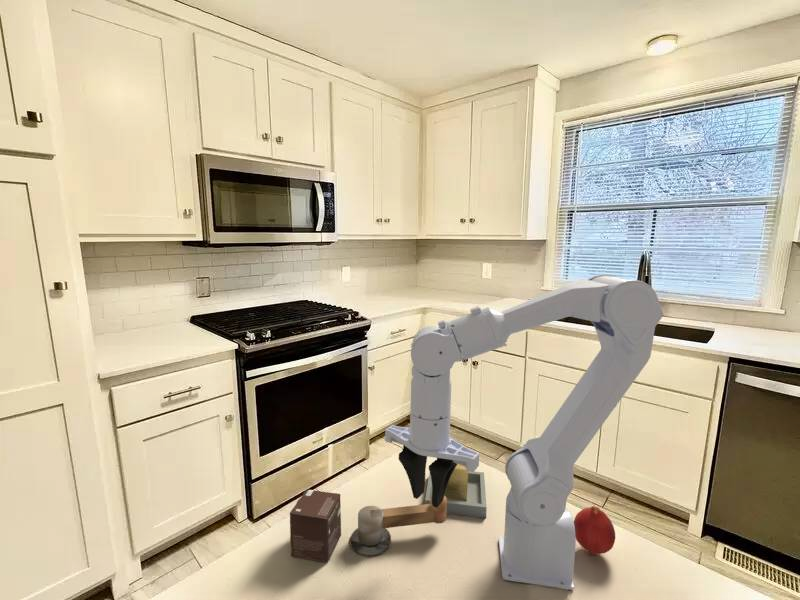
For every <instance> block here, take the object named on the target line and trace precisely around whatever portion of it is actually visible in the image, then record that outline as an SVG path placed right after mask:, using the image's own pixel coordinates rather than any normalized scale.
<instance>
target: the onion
mask: <svg viewBox="0 0 800 600" xmlns="http://www.w3.org/2000/svg"><path fill="white" fill-rule="evenodd" d="M573 521H574V526H575V538H576V541H577V543H578V545H580V546H581V547H582V549H584V550H585V551H586V552H587V553H589V554H590V555H592V556H593V555H594V556H595V555H601V554H606V553H607V552H610V550H612V549H613V548H614V545H615V541H616V530H615V527H614V524H613V522H612V520H611V519H610V517H609V516H608V515H607V514H606V513H605V512H604V511H603V510H601V509H600V507H599V506H598V505H592V506H590V507H585V508H583V509H581V510H580V511H579V512H577V514H575V517H574V518H573Z"/></svg>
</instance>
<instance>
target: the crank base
mask: <svg viewBox="0 0 800 600" xmlns="http://www.w3.org/2000/svg"><path fill="white" fill-rule="evenodd" d="M391 542H392V535H391V533H390V531H389V530H388V528H383V539H382V541H381V542H380V543H378V544H376V545H373V546H367V545H364V544H362V543H361V542H360V541H359V539H358V527H357V528H356V529H355V530H354V531H352V533H351V536H350V542H349V543H350V547H351V549H352V551H354V552H355V553H356V554H357V555H360V556H361V557H362V556H363V557H368V558H369V557H376V556H380V555H382V554H384V553H385V552H387V550H388V549H389V548H390V545H391V544H392V543H391Z"/></svg>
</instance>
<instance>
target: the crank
mask: <svg viewBox="0 0 800 600" xmlns="http://www.w3.org/2000/svg"><path fill="white" fill-rule="evenodd" d="M446 510H447V498H446V496H444V499H443V501H442V503H441V504H440V505H439V506H438V507H434V506H433V505H432V496H431V504H425V503H424V504H417V505H409V506H398V507H390V508H389V507H388V508H387V507H386V508H381V507H379V506H375V505H368V506H367V505H366V506H365V507H362V508H361V509H359V511H358V513H357V528H358V539H359V541H360V542H361V543H362V544H364V545H367V546H373V545H376V544H378V543H380V542H381V541H382V539H383V528H386V529H390V528H398V527H405V526H414V525H415V526H416V525H426V524H432V523H433V524H434V523H435V524H443V523H445V522H446V520H447V513H446Z"/></svg>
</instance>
